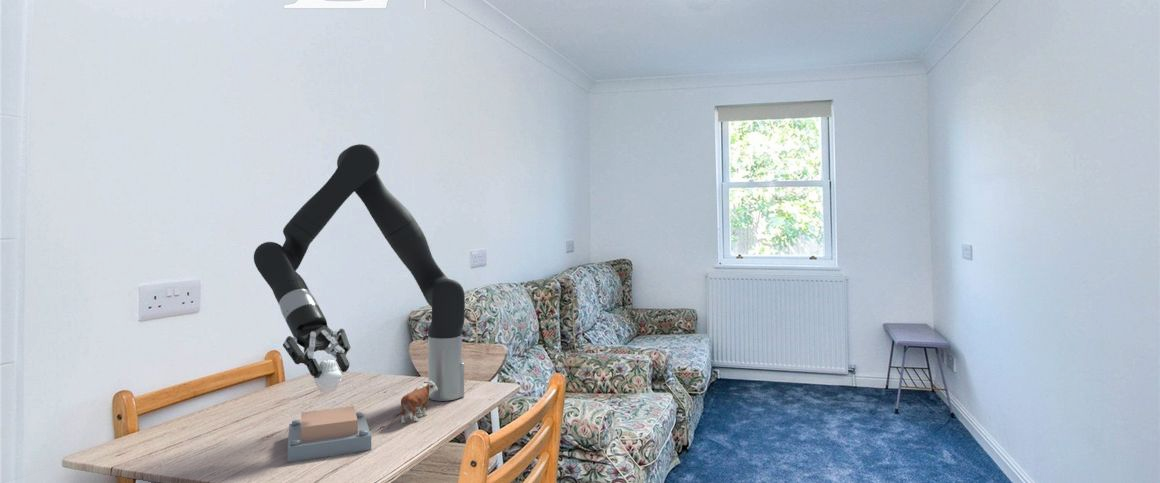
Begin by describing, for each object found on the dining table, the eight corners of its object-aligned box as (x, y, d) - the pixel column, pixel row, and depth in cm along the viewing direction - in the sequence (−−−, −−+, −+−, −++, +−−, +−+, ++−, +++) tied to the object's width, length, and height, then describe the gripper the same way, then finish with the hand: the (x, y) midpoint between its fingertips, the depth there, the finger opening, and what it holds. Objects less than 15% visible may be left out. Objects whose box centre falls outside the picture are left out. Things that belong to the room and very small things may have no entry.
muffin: (311, 389, 130) (311, 357, 130) (341, 385, 133) (341, 355, 133) (313, 396, 125) (313, 363, 125) (344, 392, 128) (344, 360, 128)
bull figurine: (440, 410, 153) (440, 379, 153) (409, 426, 140) (409, 392, 140) (426, 408, 154) (426, 377, 154) (394, 424, 142) (394, 391, 142)
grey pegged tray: (364, 426, 140) (364, 401, 140) (371, 449, 126) (371, 421, 125) (289, 437, 133) (289, 410, 133) (287, 462, 119) (287, 432, 119)
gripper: (277, 306, 127) (308, 368, 121) (337, 299, 139) (368, 356, 132) (264, 328, 130) (294, 390, 124) (324, 320, 142) (354, 376, 136)
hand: (332, 372), depth 128 cm, fingers closed on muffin, 6 cm apart
